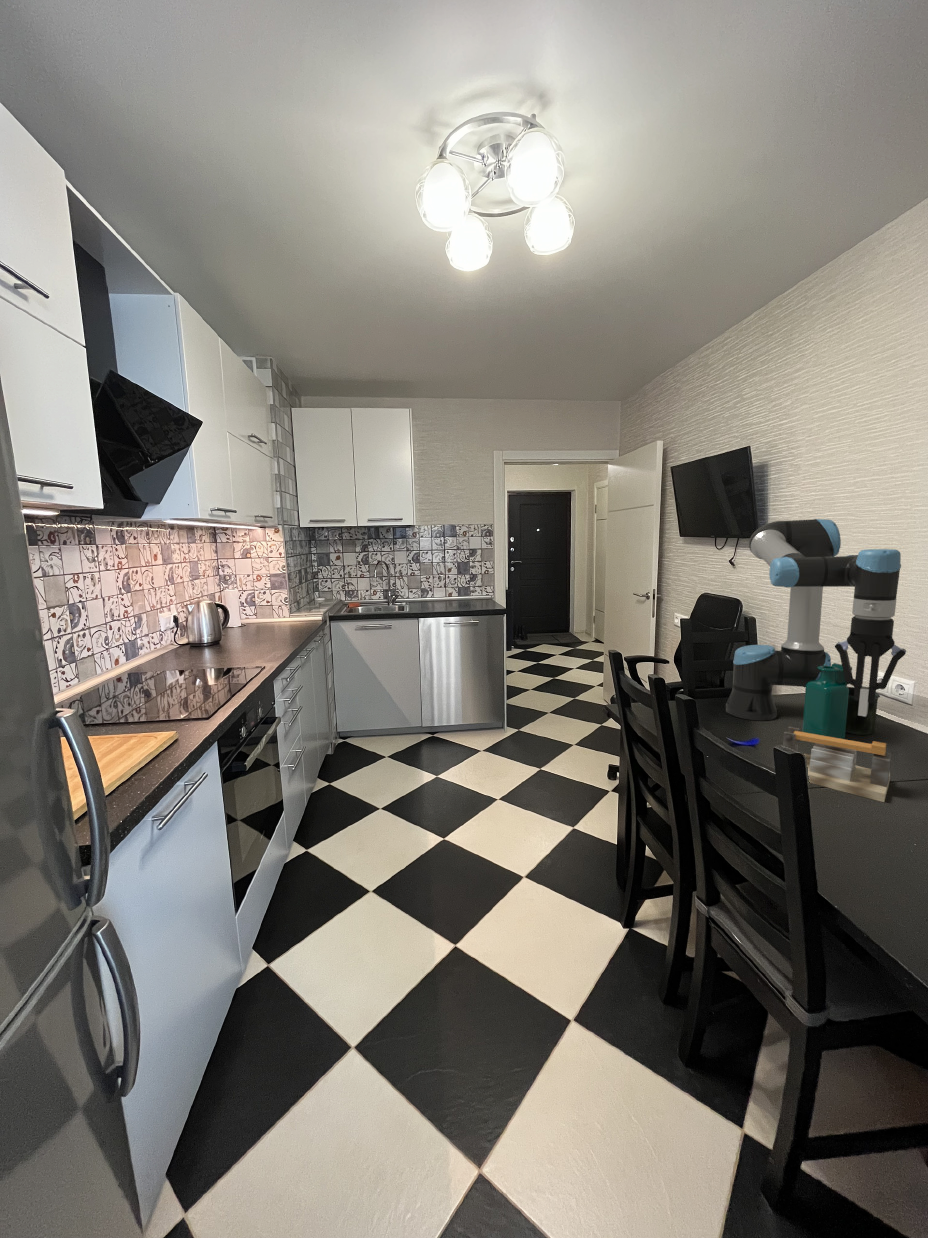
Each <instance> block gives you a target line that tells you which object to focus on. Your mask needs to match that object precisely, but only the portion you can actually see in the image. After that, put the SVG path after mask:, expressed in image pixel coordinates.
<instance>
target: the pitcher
mask: <svg viewBox="0 0 928 1238" xmlns="http://www.w3.org/2000/svg"><path fill="white" fill-rule="evenodd" d="M817 668H818V669H819V670H821V673H820V679H819V680H814V681H809V682H808V683H807V684H806V687H805V691H804V703H803V704H804V705H803V718H802V729H801V730H802V731H801V732H805V733H811V734H817V735H822V736H828V737H834V738H840V739H845V740H846V733H847V732H846V721H847V709H848V698H849V689H848V687H849V686H848V685H849V684H847V683H846V682H845V677H844V673H843V668H842V663H841V664H840V663H837V662H833V663H831V666H818V667H817ZM851 671H852V672H853V667H852V666H851Z"/></svg>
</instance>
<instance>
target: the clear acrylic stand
mask: <svg viewBox="0 0 928 1238" xmlns="http://www.w3.org/2000/svg"><path fill="white" fill-rule="evenodd" d="M800 729H801V728H798V727H793V726H788V727H787V731H784V732H783V741H782V742H783V743H782V747H783V746H785V747H788V748H791V749H793V750H796V751H798V752H799V745H800V740H797V739H795V738H796V734H794V732H795V731H799V732H801V730H800ZM804 755H805V757H806V760H807V767H808V776H809V782H810V784H814V785H817V786H821V787H826V788H828V789H829V788H830V789H832V790H835V791H839V792H844V793H849V794H851V795H855V796H857V797H858V796H860V797H862V798H866V799H870V800H874V801H878V802H881V803H885V801H886V797H887V794H888V793H887V792H888V789H889V785H890V782H891V781H890V780H891V773H890V772H891V764H892V763H891V762H892V753H887V752H886V753H885V756H884V755H878V754H872V758H871V768H868V767H864V766H859V765H857V750H851V749H846V748H840V747H835V746H829V745H824V744H819V743H814V745H813V747H812V748H811V750H810V754H807V753H804ZM809 782H808V783H809Z"/></svg>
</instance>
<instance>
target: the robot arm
mask: <svg viewBox="0 0 928 1238" xmlns="http://www.w3.org/2000/svg"><path fill="white" fill-rule="evenodd" d="M841 542H842V540H841V533H840V529H839V527H838V525H837V524H836V523H835V522H834V521H833V520H832V519H822V518H821V519H820V518H814V519H799V520H795V519H794V520H777V521H771V522H768V523H766V524H764V525H762V526H760V527H758V528H757V529H756V530H755V531H754V532H753V533H752V534H751V536H750V538H749V541H748V548H749V550H750V552H751V554H752V555H753V556H755V558H757V559H759V560H763V561H764V562H765V563H766V564H767V565H768V566H769V570H768V571H769V575H768V576H769V580H770V584H771V585H772V586H774V587H779V588H788V589H790V591H789V604H788V605H789V606H788V608H789V609H788V619H787V621H788V622H787V623H788V624H787V635H786V636H787V637H786V638H787V639H786V640H785V641H784V642H782V644H781V646H780V649H779V650H776V648H775V647H774V646H772V645H769V644H751V645H750V644H749V645H744V646H741V647H739V648H737V649H736V650H735V651H734V657H733V661H732V663H733V675H732V688H731V689H732V690H731V692H730V694H729V697H728V698H727V701H726V704H725V712H726V713H727V714H729V715H732V716H734V717H736V718H740V719H744V720H750V721H761V722H762V721H763V722H764V721H772V720H774V719H776V718H777V716H778V709H777V707H776V703H775V700H774V696H773V686H781V687H782V686H784V687H802V688H803V687H804V688H806V684H807V683H808V682H809V681H814V680H819V679H820V673H821V670H819V669H818V668H817V667H818V666H832V662H831V660H832V658H831V655H830V654H829V652H827V651H825V647H824V646H823V645H822V643H820V634H821V633H820V632H821V620H822V618H821V617H822V607H823V606H822V605H823V593H824V591H823V590H824V588H827V587H829V588H830V587H831V588H832V587H833V588H834V587H838V588H839V587H844V588H845V587H849V588H850V587H854V591H853V599H852V603H853V604H852V608H851V609H852V610H851V611H852V612H851V613H852V615H854V616H852V617H851V623H850V631H849V635H848V636H847V638H846V640H843V641H840V642H836V644H835V645H834V648H835V650H836V651H837V652H838V653H839V659H840V662H841V665H842V668H843V673H844V677H845V682H846V683H847V684H848V685H850V686H852V687H854V688H855V689H854V700H856V701H859V709H858V715H859V716H865V717H866V715H867V712H868V703H873V702H874V701H875V695H876V693H877V690H881V689H882V690H884V689H886V688H887V686H888V684H889V681H890V680H891V677H892V676H893V673H894V671H895V669H896V667H897V665H898V663H899V661H900V660H901V659H902V658H904V656H905V655H906V653H907V650H906V648H901V647H899V646H898V645H896V644H895V643H896V642H895V640H894V638H893V635H894V634H893V633H894V626H895V625H894V624H895V620H894V619H893V617H895V615H896V608H897V607H896V606H897V594H898V587H899V580H900V579H899V578H900V572H901V568H902V563H901V559H902V558H901V555H902V554H901V552H900V551H899V550H898V549H895V548H894V549H893V548H892V549H888V548H876V549H875V548H874V549H869V548H866V549H862V550H860V551H859V552H858V553H857V554H849V555H845V556H844V555H842V556H841V555H839V556H838V554H840V553H839V552H840V549H841ZM849 647H850V648H851V649H852V650H853V652H854V654H857V657H856V660H857V661H856V666H855V668H856V669H855V676H854V677H855V678H854V677H853V670H852V671H851V667H852V666H851V662H850V658H849V653H848V649H849ZM890 650H891V653H890V655H891V656H892V657H891V659H890V661H889V663H888V665H887V667H886V670H885V672H884V674H883V676H882V678H881V681H880V682H879V681H878V678H879V677H878V676H879V667H880V666H879V665H880V658H881V657H882V656H884V655H885V654H887V652H888V651H890ZM866 657H870V658H871V660H870V663H871V664H870V670H869V671H870V673H869V681H868V682H869V683H868V686H863V684H864V675H865V674H864V673H865V665H866V664H865V663H866Z"/></svg>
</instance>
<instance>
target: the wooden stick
mask: <svg viewBox="0 0 928 1238" xmlns="http://www.w3.org/2000/svg"><path fill="white" fill-rule="evenodd" d="M794 734H796V738H795V739H797V740H799V741H803V742H809V743H814V744H815V743H819V744H824V745H829V746H835V747H840V748H846V749H851V750H857V751H858V752H862V753H863V752H864V753H868V754H872V755H874V754H878V755H884V756H885V753H887V743H886V742H881V741H874V740H873V741H872V743H868V742H867V743H866V742H863V741H862V742H861V741H856V740H850V739H849V740H848V739H846V738H845V739H840V738H834V737H828V736H822V735H817V734H811V733H805V732H802V731H800V732H799V731H795V732H794Z"/></svg>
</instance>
